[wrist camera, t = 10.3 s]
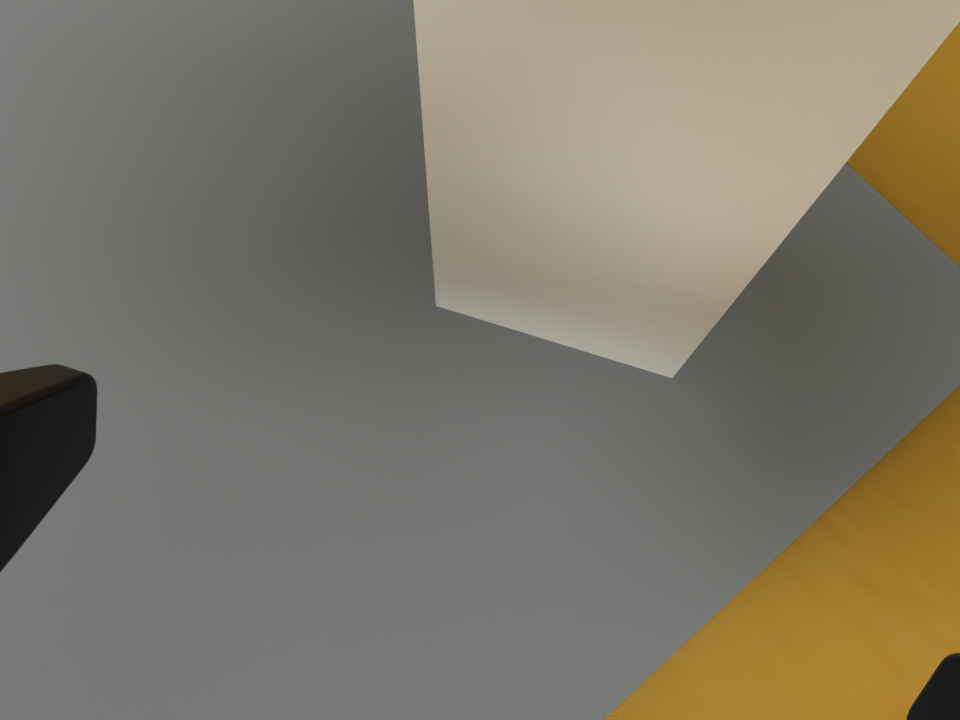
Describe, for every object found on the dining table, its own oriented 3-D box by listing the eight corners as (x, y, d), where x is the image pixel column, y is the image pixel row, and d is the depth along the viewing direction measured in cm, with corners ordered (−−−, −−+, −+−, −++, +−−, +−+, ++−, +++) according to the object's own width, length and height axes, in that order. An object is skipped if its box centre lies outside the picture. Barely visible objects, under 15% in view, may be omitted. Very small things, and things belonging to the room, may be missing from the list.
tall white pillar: (672, 378, 17) (1132, -193, 5) (436, 306, 18) (386, -372, 6) (724, 171, 19) (1166, -609, 7) (507, 110, 19) (581, -726, 7)
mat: (41, 1240, 13) (28, 1260, 12) (-504, 183, 18) (-524, 173, 18) (1011, 331, 18) (1023, 325, 18) (357, -272, 24) (356, -286, 23)
